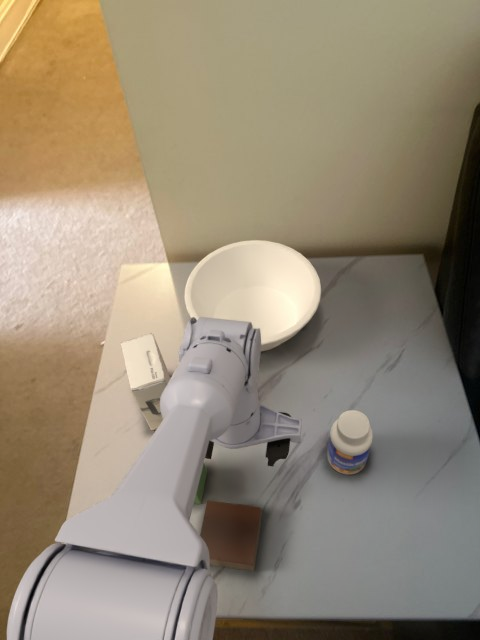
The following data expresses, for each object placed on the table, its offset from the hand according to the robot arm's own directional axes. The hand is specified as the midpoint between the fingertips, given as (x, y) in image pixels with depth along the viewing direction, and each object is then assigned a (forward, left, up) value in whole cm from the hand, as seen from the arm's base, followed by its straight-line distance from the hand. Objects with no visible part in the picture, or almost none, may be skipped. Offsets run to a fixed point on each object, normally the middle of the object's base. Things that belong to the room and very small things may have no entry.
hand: (240, 455), depth 69 cm
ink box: (+11, +15, -10) cm, 20 cm away
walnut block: (-7, +1, -9) cm, 12 cm away
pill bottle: (+6, -13, -10) cm, 17 cm away
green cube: (-1, +8, -9) cm, 12 cm away
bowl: (+28, +3, -10) cm, 29 cm away
